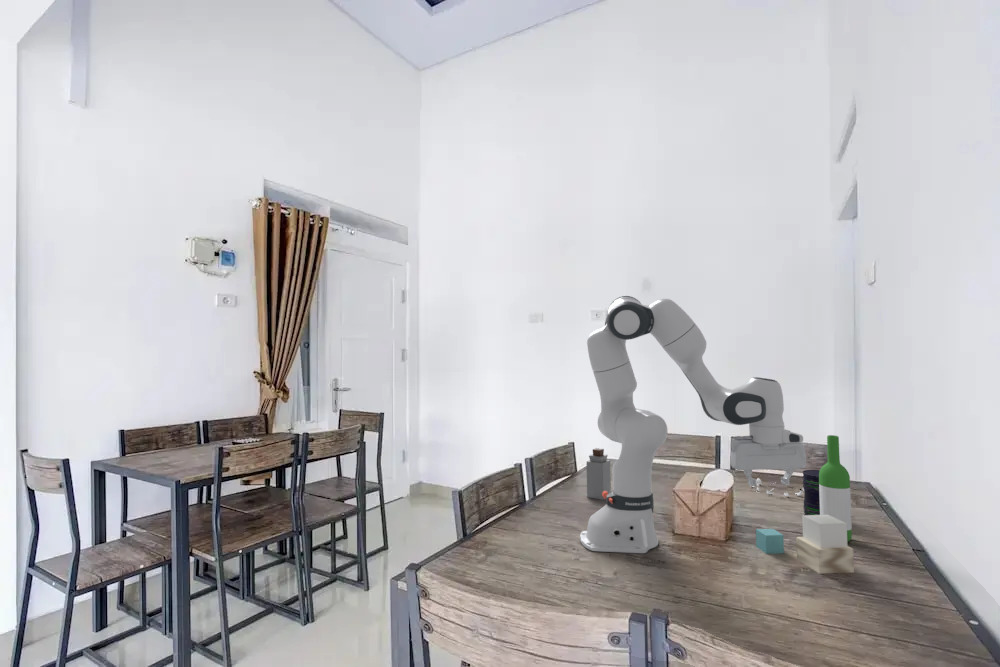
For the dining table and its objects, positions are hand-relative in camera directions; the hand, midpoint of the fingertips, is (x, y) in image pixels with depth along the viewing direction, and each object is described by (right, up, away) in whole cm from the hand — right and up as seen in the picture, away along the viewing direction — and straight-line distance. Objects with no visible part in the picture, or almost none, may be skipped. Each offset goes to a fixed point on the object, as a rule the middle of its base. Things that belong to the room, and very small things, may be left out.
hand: (768, 484), depth 145 cm
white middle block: (+9, -12, -11) cm, 18 cm away
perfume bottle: (-37, -20, +54) cm, 69 cm away
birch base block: (+9, -18, -11) cm, 23 cm away
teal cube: (0, -18, -1) cm, 18 cm away
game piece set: (+35, -20, +59) cm, 71 cm away
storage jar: (+30, -19, +25) cm, 43 cm away
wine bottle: (+24, -18, +7) cm, 31 cm away
